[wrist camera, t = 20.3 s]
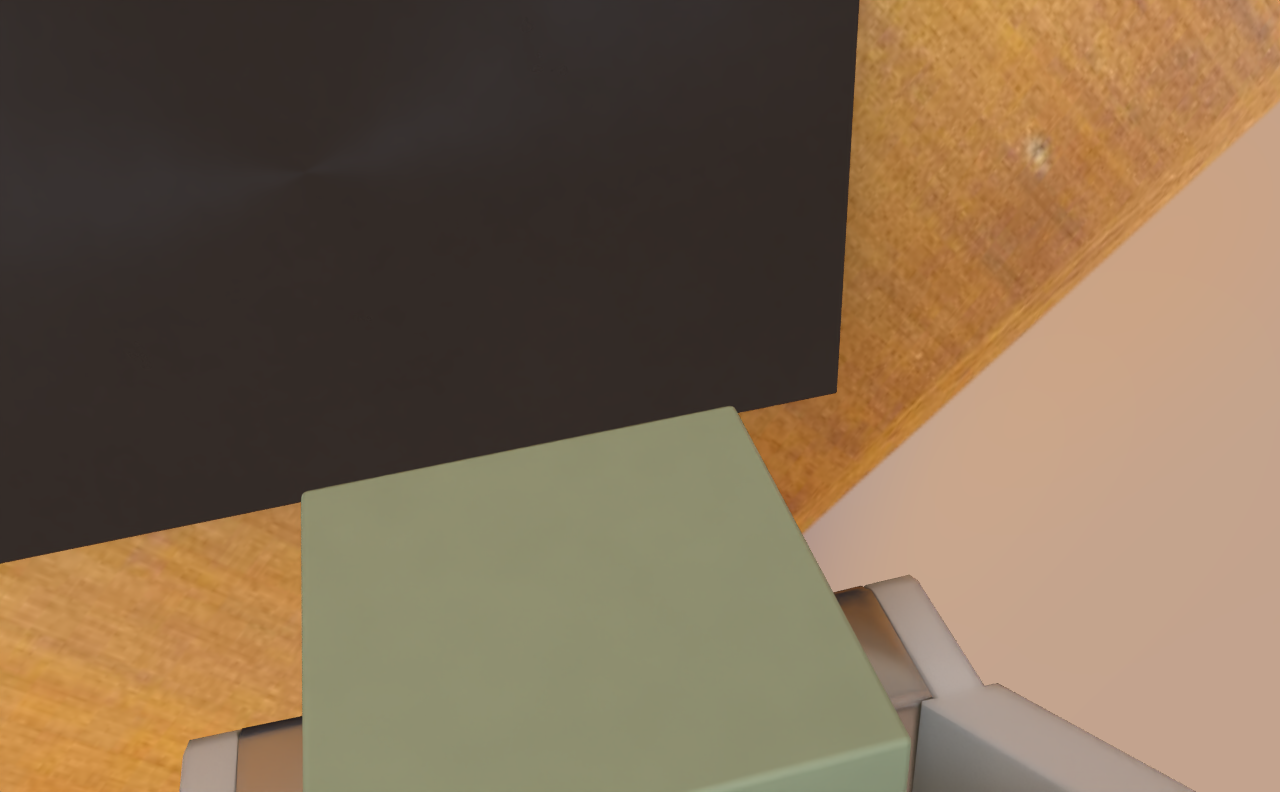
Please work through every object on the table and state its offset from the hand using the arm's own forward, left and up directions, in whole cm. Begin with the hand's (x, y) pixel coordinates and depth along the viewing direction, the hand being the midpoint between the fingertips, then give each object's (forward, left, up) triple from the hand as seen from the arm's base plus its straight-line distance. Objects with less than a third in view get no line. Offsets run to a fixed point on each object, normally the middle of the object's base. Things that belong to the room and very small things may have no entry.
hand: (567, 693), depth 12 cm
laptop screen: (+3, +3, -22) cm, 22 cm away
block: (0, 0, -1) cm, 1 cm away
